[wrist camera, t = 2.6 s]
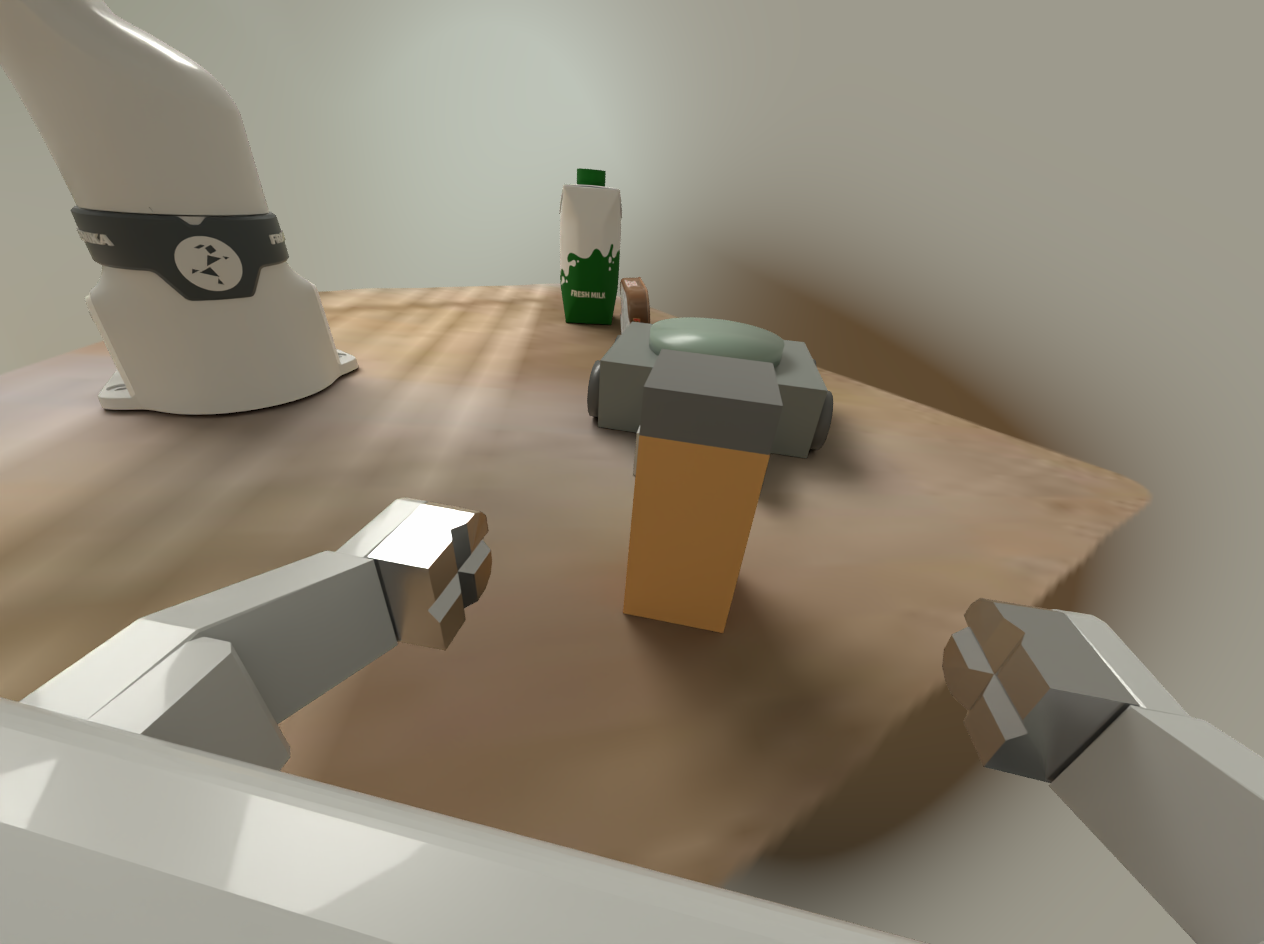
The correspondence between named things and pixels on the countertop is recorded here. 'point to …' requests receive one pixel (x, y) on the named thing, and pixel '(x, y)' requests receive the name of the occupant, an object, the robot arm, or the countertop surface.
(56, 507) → the countertop surface
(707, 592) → the orange gray block
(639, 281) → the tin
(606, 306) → the milk carton
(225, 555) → the countertop surface
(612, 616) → the countertop surface
